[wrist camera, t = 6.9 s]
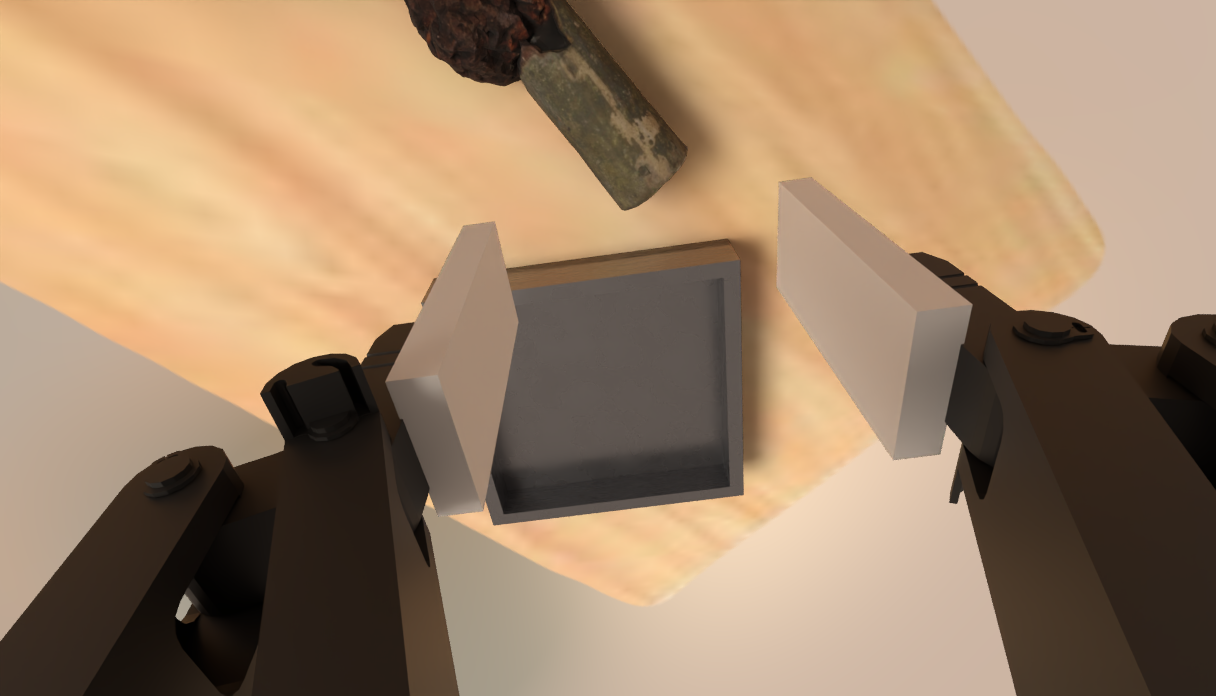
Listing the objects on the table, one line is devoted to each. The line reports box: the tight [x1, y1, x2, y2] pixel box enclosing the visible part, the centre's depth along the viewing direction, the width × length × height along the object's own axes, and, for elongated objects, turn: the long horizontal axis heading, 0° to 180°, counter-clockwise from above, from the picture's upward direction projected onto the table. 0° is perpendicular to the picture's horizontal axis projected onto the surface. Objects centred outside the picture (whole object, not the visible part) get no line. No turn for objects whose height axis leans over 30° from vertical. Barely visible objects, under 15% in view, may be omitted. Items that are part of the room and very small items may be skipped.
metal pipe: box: [404, 0, 688, 211], centre depth 29 cm, size 18×7×6 cm, turn 40°
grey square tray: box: [421, 239, 744, 525], centre depth 41 cm, size 19×19×4 cm
